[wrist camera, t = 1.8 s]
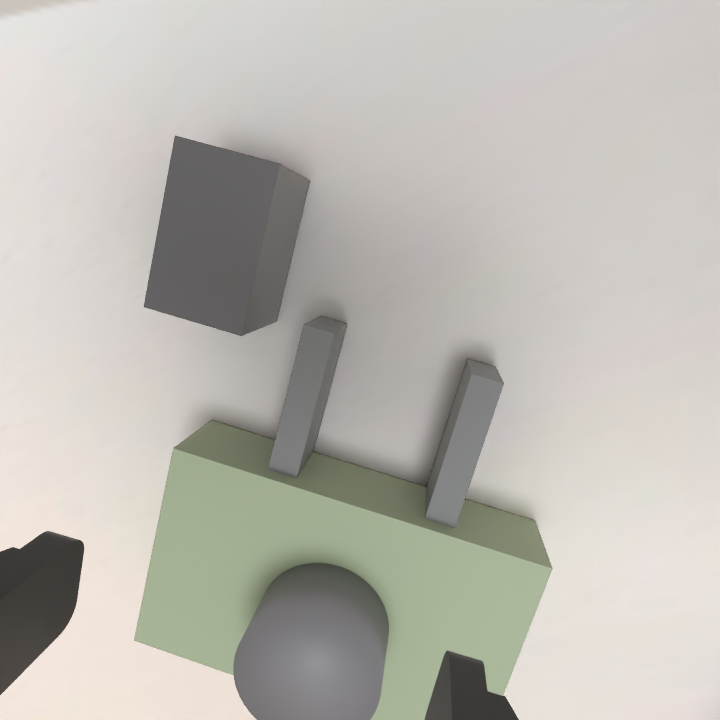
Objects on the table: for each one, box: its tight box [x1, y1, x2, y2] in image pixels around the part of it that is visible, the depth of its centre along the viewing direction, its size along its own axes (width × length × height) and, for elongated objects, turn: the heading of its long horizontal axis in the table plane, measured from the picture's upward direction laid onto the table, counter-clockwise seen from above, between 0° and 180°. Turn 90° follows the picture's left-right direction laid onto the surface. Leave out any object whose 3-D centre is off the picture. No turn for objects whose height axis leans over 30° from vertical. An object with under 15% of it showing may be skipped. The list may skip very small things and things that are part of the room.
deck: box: [134, 316, 552, 720], centre depth 29 cm, size 20×20×9 cm
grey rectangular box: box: [144, 136, 310, 336], centre depth 29 cm, size 8×5×6 cm, turn 165°
